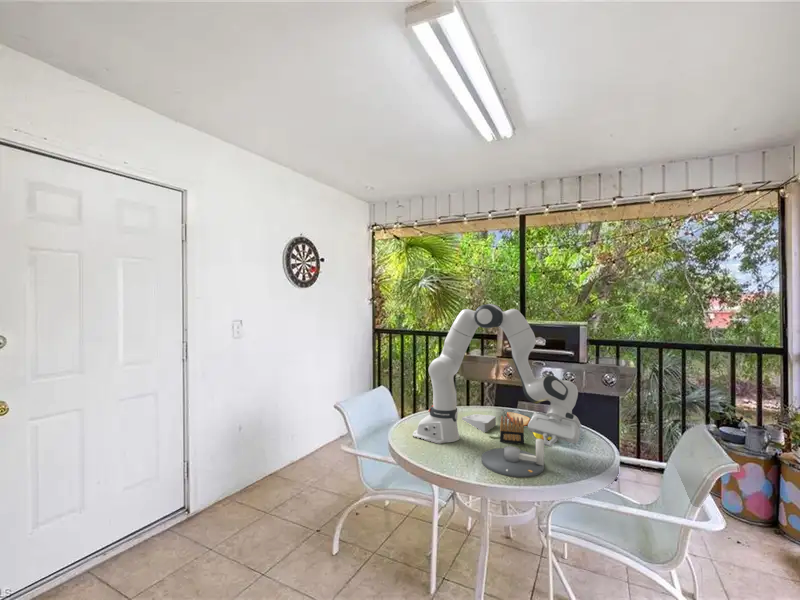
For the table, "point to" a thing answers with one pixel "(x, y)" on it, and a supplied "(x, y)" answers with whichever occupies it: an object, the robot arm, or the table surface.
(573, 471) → the table surface
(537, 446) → the dial lever
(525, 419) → the bread slice
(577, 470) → the table surface
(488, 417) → the ramp
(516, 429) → the ammunition clip
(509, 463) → the dial plate
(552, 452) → the table surface
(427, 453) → the table surface
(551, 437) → the yellow faceted oblong piece
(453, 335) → the robot arm
